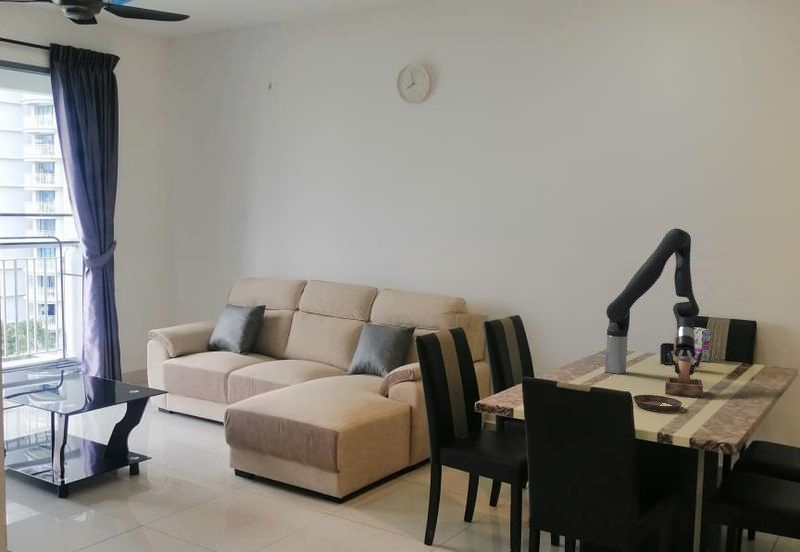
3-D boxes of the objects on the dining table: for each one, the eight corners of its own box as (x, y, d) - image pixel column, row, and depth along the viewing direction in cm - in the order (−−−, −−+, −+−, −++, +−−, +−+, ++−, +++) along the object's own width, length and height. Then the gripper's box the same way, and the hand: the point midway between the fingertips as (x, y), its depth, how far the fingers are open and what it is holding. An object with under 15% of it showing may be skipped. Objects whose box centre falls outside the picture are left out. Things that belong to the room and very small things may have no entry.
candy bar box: (710, 362, 386) (711, 330, 385) (700, 362, 386) (702, 330, 384) (699, 358, 397) (700, 327, 396) (690, 358, 397) (691, 327, 396)
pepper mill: (677, 386, 311) (678, 357, 310) (677, 384, 316) (678, 355, 315) (689, 387, 310) (691, 358, 309) (689, 385, 314) (691, 356, 313)
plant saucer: (677, 404, 294) (678, 396, 293) (685, 415, 276) (685, 407, 276) (630, 400, 297) (631, 392, 297) (634, 411, 280) (635, 403, 280)
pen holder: (655, 363, 379) (656, 343, 378) (669, 362, 383) (670, 342, 382) (669, 366, 370) (670, 346, 370) (683, 365, 374) (684, 345, 374)
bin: (665, 394, 308) (665, 383, 308) (665, 387, 322) (665, 376, 321) (702, 398, 304) (702, 386, 304) (700, 390, 317) (701, 379, 317)
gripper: (667, 333, 320) (666, 366, 310) (704, 335, 316) (703, 369, 305) (667, 343, 326) (665, 376, 315) (702, 346, 321) (702, 380, 311)
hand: (684, 373), depth 310 cm, fingers closed on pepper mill, 4 cm apart
